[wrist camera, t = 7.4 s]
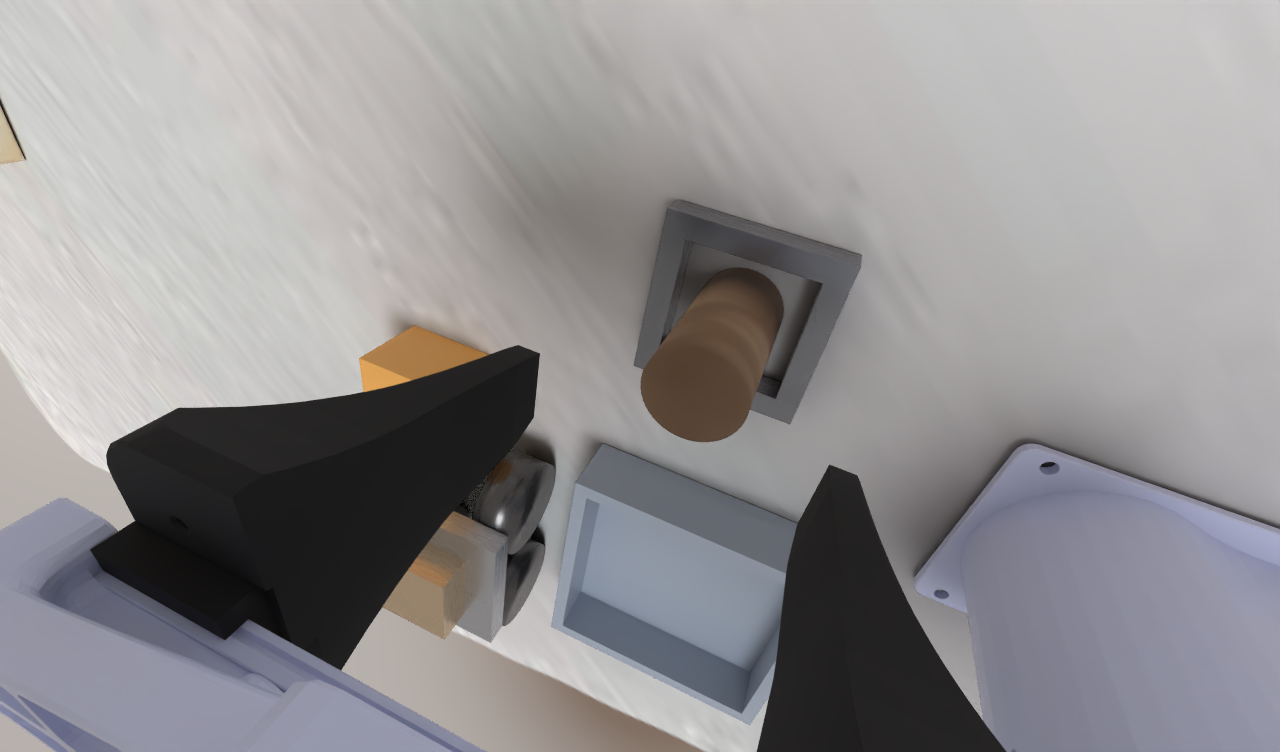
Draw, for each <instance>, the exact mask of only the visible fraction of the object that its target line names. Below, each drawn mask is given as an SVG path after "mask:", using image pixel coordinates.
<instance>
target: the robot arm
mask: <svg viewBox="0 0 1280 752" xmlns="http://www.w3.org/2000/svg"><path fill="white" fill-rule="evenodd" d="M539 357H540V353H537V352H535V351H532V350H529V349H527V348H524V347H521V346H519V345H517V346H514V347H510V348H507V349H504V350H501V351H498V352H496V353H493V354H490V355H487V356H484V357H482V358H479V359H476V360H473V361H470V362H467V363H464V364H462V365H459V366H456V367H453V368H450V369H447V370H444V371H441V372H438V373H434V374H431V375H428V376H424V377H421V378H418V379H414V380H411V381H408V382H404V383H401V384H397V385H393V386H389V387H385V388H381V389H376V390H371V391H366V392H362V393H357V394H352V395H346V396H339V397H332V398H326V399H319V400H312V401H305V402H296V403H286V404H276V405H262V406H246V407H211V408H177V409H175V410H174V411H172V412H170V413H168V414H166V415H164V416H162V417H160V418H158V419H156V420H154V421H153V422H151V423H149V424H147V425H145V426H143V427H141V428H139V429H137V430H135V431H134V432H132V433H130V434H128V435H126V436H124V437H122V438H120V439H118V440H116V441H115V442H113V443H111V444H110V446H109V448H108V451H107V455H106V457H107V465H108V468H109V470H110V473H111V475H112V477H113V479H114V481H115V483H116V485H117V487H118V489H119V491H120V492H121V495H122V496H123V498H124V500H125V502H126V504H127V506H128V508H129V510H130V512H131V514H132V516H133V517H134V519H135V520H136V521H134V522H133V523H131V524H130V525H128V526H126V527H125V528H123V529H122V530H120V531H119V532H118V531H117V530H116V529H115V528H114V527H113V526H112V525H111V524H110V523H109V522H108V521H106V520H105V519H103V518H102V517H100V516H98V515H96V514H94V513H93V512H91V511H89V510H87V509H85V508H84V507H82V506H80V505H78V504H76V503H74V502H73V501H71V500H69V499H67V498H58V499H56V500H54V501H53V502H51V503H49V504H47V505H45V506H43V507H42V508H40V509H38V510H36V511H35V512H33V513H31V514H29V515H27V516H25V517H23V518H22V519H20V520H18V521H16V522H14V523H13V524H11V525H9V526H7V527H5V528H4V529H2V530H0V713H2V714H3V715H4V716H6V717H7V718H9V719H10V720H12V721H13V722H14V723H16V724H17V725H19V726H20V727H22V728H23V729H24V730H26V731H27V732H29V733H30V734H31V735H33V736H34V737H36V738H37V739H38V740H40V741H41V742H43V743H44V744H45V745H47V746H48V747H49V748H51V749H52V750H54V751H55V752H486V751H484V750H482V749H481V748H479V747H477V746H475V745H473V744H472V743H470V742H468V741H466V740H464V739H462V738H461V737H459V736H457V735H455V734H454V733H452V732H450V731H448V730H447V729H445V728H443V727H441V726H439V725H438V724H435V723H434V722H432V721H430V720H429V719H427V718H425V717H423V716H421V715H419V714H418V713H416V712H414V711H412V710H411V709H409V708H407V707H405V706H403V705H402V704H400V703H398V702H396V701H394V700H393V699H391V698H389V697H387V696H385V695H383V694H382V693H380V692H378V691H376V690H375V689H373V688H371V687H369V686H367V685H366V684H364V683H362V682H360V681H358V680H357V679H355V678H353V677H351V676H349V675H348V674H346V673H344V672H342V671H341V670H342V668H343V666H344V665H345V663H346V662H347V660H348V659H349V657H350V655H351V654H352V652H353V651H354V649H355V648H356V646H357V644H358V643H359V641H360V640H361V638H362V637H363V635H364V633H365V632H366V630H367V629H368V627H369V626H370V624H371V623H372V621H373V620H374V618H375V617H376V615H377V614H378V612H379V611H380V609H381V608H382V607H383V605H384V604H385V602H386V601H387V599H388V598H389V596H390V595H391V593H392V592H393V590H394V589H395V587H396V586H397V585H398V583H399V582H400V580H401V579H402V578H403V576H404V575H405V573H406V572H407V571H408V569H409V568H410V567H411V565H412V564H413V562H414V561H415V560H416V558H417V557H418V555H419V554H420V553H421V551H422V550H423V549H424V547H425V546H426V545H427V544H428V542H429V541H430V540H431V538H432V537H433V536H434V534H435V533H436V532H437V530H438V529H439V528H440V526H441V525H442V524H443V523H444V521H445V520H446V519H447V518H448V517H449V516H450V514H451V513H452V512H453V511H454V510H455V509H456V508H457V507H458V506H459V504H460V503H461V502H462V501H463V500H464V499H465V498H466V497H467V496H468V495H469V494H470V493H471V492H472V491H473V490H474V489H475V487H476V486H477V485H478V484H479V483H480V482H481V481H482V480H483V479H484V478H485V477H486V476H487V475H488V474H489V473H490V472H491V471H492V469H493V468H494V467H495V466H496V465H497V464H498V463H499V462H500V461H501V460H502V459H503V458H504V456H505V455H506V454H507V453H508V452H509V451H510V450H511V449H512V448H513V446H514V445H515V443H516V442H517V441H518V439H519V438H520V437H521V435H522V434H523V432H524V431H525V429H526V428H527V426H528V425H529V424H530V422H531V421H532V419H533V418H534V409H535V399H536V388H537V378H538V367H539ZM1045 462H1055V463H1056V464H1055V465H1053V466H1052V467H1041V465H1042V464H1043V463H1045ZM914 587H915V590H916V591H917V592H918V593H919V594H921V595H923V596H925V597H928V598H930V599H932V600H935V601H937V602H940V603H942V604H944V605H947V606H949V607H952V608H954V609H956V610H959V611H961V612H963V613H966V614H968V621H969V628H970V634H971V641H972V648H973V654H974V661H975V668H976V675H977V681H978V688H979V695H980V702H981V708H982V715H983V720H982V719H981V717H980V716H979V715H978V713H977V712H976V710H975V709H974V708H973V706H972V705H971V704H970V702H969V701H968V699H967V698H966V696H965V695H964V693H963V692H962V690H961V689H960V688H959V686H958V685H957V683H956V682H955V680H954V679H953V677H952V676H951V674H950V673H949V671H948V670H947V668H946V667H945V665H944V664H943V662H942V660H941V659H940V657H939V656H938V654H937V652H936V651H935V649H934V648H933V646H932V644H931V642H930V641H929V639H928V637H927V636H926V634H925V632H924V630H923V629H922V627H921V625H920V623H919V622H918V620H917V618H916V616H915V615H914V613H913V611H912V609H911V607H910V605H909V603H908V601H907V599H906V597H905V595H904V593H903V591H902V588H901V586H900V584H899V582H898V580H897V578H896V576H895V573H894V571H893V569H892V567H891V564H890V562H889V560H888V557H887V555H886V552H885V550H884V547H883V545H882V542H881V540H880V538H879V535H878V532H877V530H876V527H875V524H874V522H873V519H872V516H871V513H870V510H869V507H868V505H867V502H866V499H865V496H864V493H863V489H862V486H861V483H860V481H859V478H858V476H857V475H855V474H852V473H850V472H847V471H844V470H842V469H839V468H837V467H834V466H831V465H829V466H828V468H827V470H826V472H825V474H824V476H823V478H822V479H821V481H820V483H819V485H818V487H817V489H816V491H815V493H814V494H813V496H812V498H811V500H810V502H809V504H808V506H807V508H806V509H805V511H804V513H803V515H802V517H801V519H800V521H799V523H798V524H797V527H796V531H795V535H794V539H793V543H792V547H791V551H790V555H789V559H788V564H787V570H786V578H785V587H784V596H783V604H782V613H781V622H780V631H779V640H778V649H777V658H776V664H775V671H774V677H773V682H772V687H771V691H770V696H769V700H768V705H767V709H766V714H765V719H764V723H763V727H762V732H761V736H760V740H759V745H758V749H757V752H1280V529H1278V528H1275V527H1272V526H1269V525H1266V524H1264V523H1261V522H1258V521H1255V520H1252V519H1249V518H1246V517H1244V516H1241V515H1238V514H1235V513H1232V512H1229V511H1227V510H1224V509H1221V508H1218V507H1215V506H1212V505H1210V504H1207V503H1204V502H1201V501H1198V500H1195V499H1192V498H1190V497H1187V496H1184V495H1181V494H1178V493H1175V492H1173V491H1170V490H1167V489H1164V488H1161V487H1158V486H1156V485H1153V484H1150V483H1147V482H1144V481H1141V480H1138V479H1136V478H1133V477H1130V476H1127V475H1124V474H1121V473H1119V472H1116V471H1113V470H1110V469H1107V468H1104V467H1102V466H1099V465H1096V464H1093V463H1090V462H1087V461H1084V460H1082V459H1079V458H1076V457H1073V456H1070V455H1067V454H1065V453H1062V452H1059V451H1056V450H1053V449H1050V448H1048V447H1045V446H1042V445H1038V444H1024V445H1022V446H1019V447H1018V448H1017V449H1016V450H1015V451H1014V452H1013V453H1012V454H1011V456H1010V457H1009V458H1008V459H1007V461H1006V462H1005V463H1004V464H1003V466H1002V467H1001V468H1000V470H999V471H998V472H997V473H996V475H995V476H994V477H993V478H992V480H991V481H990V482H989V484H988V485H987V486H986V487H985V489H984V490H983V491H982V492H981V494H980V495H979V496H978V497H977V499H976V500H975V501H974V503H973V504H972V505H971V506H970V508H969V509H968V510H967V511H966V513H965V514H964V515H963V517H962V518H961V519H960V520H959V522H958V523H957V524H956V525H955V527H954V528H953V529H952V530H951V532H950V533H949V534H948V536H947V537H946V538H945V539H944V541H943V542H942V543H941V544H940V546H939V547H938V548H937V550H936V551H935V552H934V553H933V555H932V556H931V557H930V558H929V560H928V561H927V562H926V563H925V565H924V566H923V567H922V569H921V570H920V571H919V572H918V574H917V575H916V576H915V578H914ZM940 589H941V590H945V591H938V590H940Z"/></svg>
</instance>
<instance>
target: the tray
mask: <svg viewBox="0 0 1280 752" xmlns="http://www.w3.org/2000/svg"><path fill="white" fill-rule="evenodd" d="M796 527H797V523H795V522H793V521H790V520H788V519H785V518H783V517H780V516H778V515H776V514H773V513H771V512H768V511H766V510H763V509H761V508H759V507H756V506H754V505H751V504H749V503H746V502H744V501H742V500H739V499H737V498H734V497H732V496H729V495H727V494H725V493H722V492H720V491H717V490H715V489H713V488H710V487H708V486H705V485H703V484H700V483H698V482H696V481H693V480H691V479H688V478H686V477H683V476H681V475H679V474H676V473H674V472H671V471H669V470H666V469H664V468H662V467H659V466H657V465H654V464H652V463H649V462H647V461H645V460H642V459H640V458H637V457H635V456H633V455H630V454H628V453H625V452H623V451H620V450H618V449H616V448H613V447H611V446H608V445H606V444H602V445H601V447H600V448H599V450H598V451H597V453H596V454H595V455H594V457H593V458H592V460H591V461H590V462H589V464H588V465H587V467H586V468H585V470H584V471H583V472H582V474H581V475H580V477H579V478H578V480H577V481H576V482H575V488H574V493H573V499H572V505H571V511H570V517H569V523H568V529H567V535H566V541H565V547H564V553H563V559H562V565H561V571H560V577H559V583H558V589H557V595H556V601H555V606H554V612H553V618H552V624H551V627H553V628H555V629H557V630H559V631H561V632H563V633H565V634H567V635H569V636H571V637H573V638H575V639H577V640H579V641H581V642H583V643H585V644H587V645H589V646H591V647H593V648H595V649H597V650H599V651H601V652H603V653H605V654H607V655H609V656H611V657H613V658H616V659H618V660H620V661H622V662H624V663H626V664H628V665H630V666H632V667H634V668H636V669H638V670H640V671H642V672H644V673H646V674H648V675H650V676H652V677H654V678H656V679H658V680H660V681H662V682H664V683H666V684H668V685H670V686H672V687H674V688H676V689H678V690H680V691H682V692H684V693H686V694H688V695H690V696H692V697H694V698H696V699H698V700H700V701H702V702H704V703H706V704H708V705H710V706H712V707H714V708H716V709H718V710H720V711H722V712H724V713H726V714H728V715H730V716H732V717H735V718H737V719H739V720H741V721H743V722H745V723H747V724H749V725H750V724H751V723H752V721H753V720H754V718H755V717H756V715H757V714H758V712H759V711H760V709H761V708H762V706H763V705H764V704H765V702H766V701H767V699H768V698H769V696H770V691H771V687H772V682H773V677H774V671H775V664H776V658H777V649H778V640H779V631H780V622H781V613H782V604H783V596H784V587H785V578H786V570H787V564H788V559H789V555H790V551H791V547H792V543H793V539H794V535H795V531H796Z"/></svg>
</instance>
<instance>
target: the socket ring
mask: <svg viewBox="0 0 1280 752" xmlns="http://www.w3.org/2000/svg"><path fill="white" fill-rule="evenodd" d="M693 242H695V243H698V244H701V245H704V246H707V247H710V248H713V249H717V250H720V251H723V252H726V253H729V254H732V255H735V256H738V257H742V258H745V259H748V260H751V261H754V262H757V263H760V264H763V265H766V266H770V267H773V268H776V269H779V270H782V271H785V272H788V273H791V274H795V275H798V276H801V277H804V278H807V279H810V280H813V281H816V282H819V283H822V284H821V286H820V288H819V291H818V293H817V296H816V298H815V300H814V303H813V305H812V308H811V310H810V313H809V315H808V317H807V320H806V322H805V325H804V327H803V329H802V332H801V334H800V337H799V339H798V342H797V344H796V346H795V349H794V351H793V354H792V356H791V358H790V361H789V363H788V366H787V368H786V371H785V373H784V375H783V378H782V380H781V382H779V381H776V380H773V379H771V378H768V377H765V376H762V377H761V380H760V383H759V385H758V388H757V391H756V394H755V396H754V399H753V402H752V405H751V407H750V410H753V411H756V412H758V413H761V414H763V415H766V416H769V417H771V418H774V419H777V420H779V421H782V422H785V423H787V424H790V423H791V421H792V419H793V417H794V414H795V412H796V410H797V408H798V406H799V403H800V401H801V399H802V397H803V394H804V392H805V390H806V388H807V386H808V383H809V381H810V379H811V377H812V375H813V372H814V370H815V368H816V366H817V363H818V361H819V359H820V357H821V355H822V352H823V350H824V348H825V346H826V343H827V341H828V339H829V337H830V335H831V332H832V330H833V328H834V326H835V323H836V321H837V319H838V317H839V315H840V312H841V310H842V308H843V306H844V303H845V301H846V299H847V297H848V295H849V292H850V290H851V288H852V286H853V283H854V281H855V279H856V277H857V275H858V272H859V270H860V268H861V258H862V255H859V254H856V253H853V252H849V251H846V250H843V249H840V248H836V247H833V246H830V245H826V244H823V243H820V242H817V241H813V240H810V239H807V238H804V237H800V236H797V235H794V234H791V233H787V232H784V231H781V230H777V229H774V228H771V227H768V226H764V225H761V224H758V223H755V222H751V221H748V220H745V219H741V218H738V217H735V216H732V215H728V214H725V213H722V212H719V211H715V210H712V209H709V208H706V207H702V206H699V205H696V204H692V203H689V202H686V201H683V200H678V201H676V202H675V203H674V204H672V205H671V206H670V207H668V209H667V214H666V218H665V223H664V228H663V232H662V237H661V241H660V246H659V251H658V255H657V260H656V264H655V269H654V274H653V278H652V283H651V287H650V292H649V297H648V301H647V306H646V311H645V315H644V320H643V324H642V329H641V334H640V338H639V343H638V347H637V352H636V357H635V361H634V366H636V367H639V368H641V369H644V368H645V366H646V365H647V363H648V362H649V360H650V359H651V358H652V356H653V355H654V354H655V352H656V351H657V350H658V348H659V347H660V345H661V344H662V343H663V341H664V340H665V339H666V337H667V336H668V335H669V333H670V330H671V326H672V322H673V318H674V314H675V310H676V306H677V302H678V298H679V294H680V290H681V286H682V282H683V278H684V274H685V270H686V266H687V262H688V259H689V255H690V251H691V247H692V243H693Z"/></svg>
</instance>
